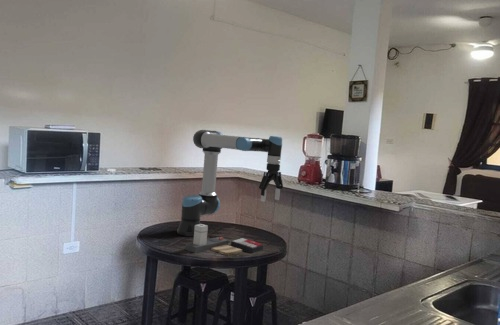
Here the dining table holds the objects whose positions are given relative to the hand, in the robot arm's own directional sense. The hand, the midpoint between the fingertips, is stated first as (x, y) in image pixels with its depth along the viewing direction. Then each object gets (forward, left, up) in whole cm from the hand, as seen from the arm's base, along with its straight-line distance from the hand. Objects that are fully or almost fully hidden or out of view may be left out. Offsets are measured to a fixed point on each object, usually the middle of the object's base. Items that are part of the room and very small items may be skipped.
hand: (270, 200), depth 234 cm
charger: (-21, -32, -27) cm, 47 cm away
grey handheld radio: (-21, -24, -28) cm, 42 cm away
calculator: (-7, -8, -29) cm, 31 cm away
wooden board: (-10, -22, -28) cm, 37 cm away
